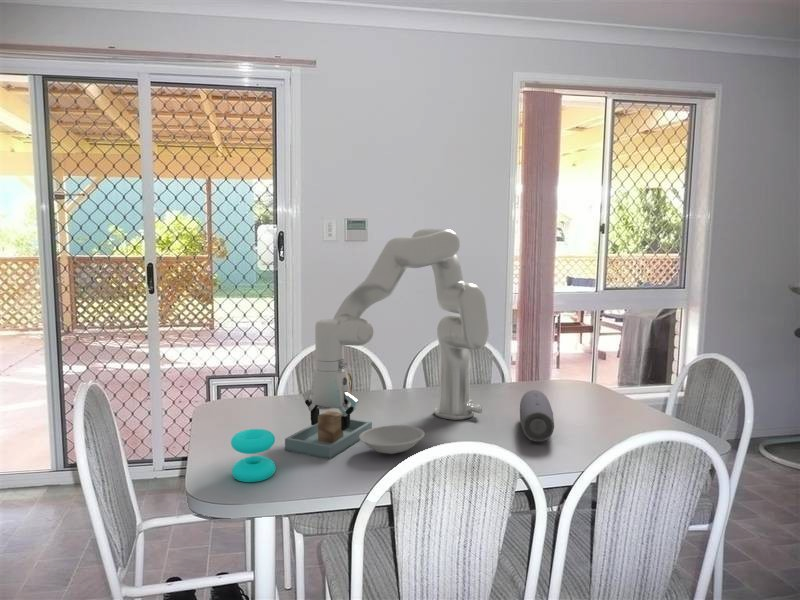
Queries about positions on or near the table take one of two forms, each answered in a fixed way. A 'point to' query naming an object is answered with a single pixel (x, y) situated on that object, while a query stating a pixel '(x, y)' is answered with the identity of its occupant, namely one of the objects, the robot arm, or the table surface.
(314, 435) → the tray
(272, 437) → the donuts
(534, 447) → the table surface
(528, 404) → the bluetooth speaker
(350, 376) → the tin
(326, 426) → the block
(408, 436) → the dish
